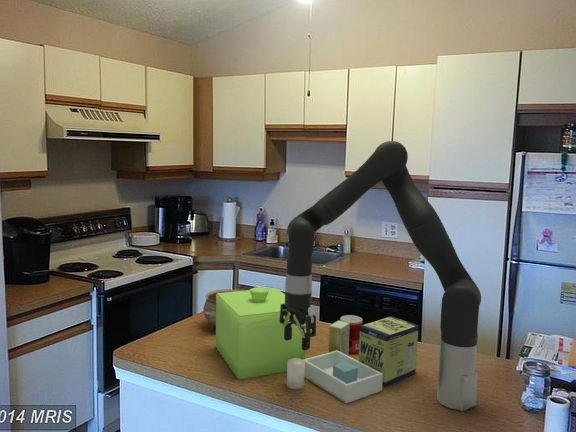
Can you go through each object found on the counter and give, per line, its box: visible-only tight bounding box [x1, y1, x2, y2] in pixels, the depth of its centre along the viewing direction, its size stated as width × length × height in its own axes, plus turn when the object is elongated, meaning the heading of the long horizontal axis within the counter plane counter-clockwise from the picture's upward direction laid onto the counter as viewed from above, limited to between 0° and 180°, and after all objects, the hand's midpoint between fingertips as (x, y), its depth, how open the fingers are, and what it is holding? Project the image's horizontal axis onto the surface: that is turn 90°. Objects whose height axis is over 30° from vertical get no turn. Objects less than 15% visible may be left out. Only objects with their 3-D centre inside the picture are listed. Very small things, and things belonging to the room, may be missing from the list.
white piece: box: [286, 358, 305, 390], centre depth 140 cm, size 5×5×7 cm
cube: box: [333, 362, 358, 384], centre depth 141 cm, size 5×5×5 cm
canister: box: [215, 286, 306, 380], centre depth 158 cm, size 25×21×23 cm
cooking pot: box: [202, 288, 243, 327], centre depth 186 cm, size 25×19×12 cm
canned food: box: [339, 314, 364, 355], centre depth 167 cm, size 8×8×11 cm
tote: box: [304, 350, 383, 404], centre depth 143 cm, size 20×14×5 cm
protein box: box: [358, 315, 419, 388], centre depth 149 cm, size 10×16×16 cm
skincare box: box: [328, 320, 350, 357], centre depth 158 cm, size 6×4×12 cm
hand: (296, 344), depth 140 cm, fingers open, 8 cm apart
